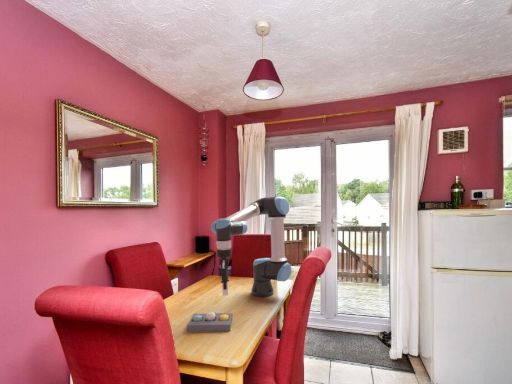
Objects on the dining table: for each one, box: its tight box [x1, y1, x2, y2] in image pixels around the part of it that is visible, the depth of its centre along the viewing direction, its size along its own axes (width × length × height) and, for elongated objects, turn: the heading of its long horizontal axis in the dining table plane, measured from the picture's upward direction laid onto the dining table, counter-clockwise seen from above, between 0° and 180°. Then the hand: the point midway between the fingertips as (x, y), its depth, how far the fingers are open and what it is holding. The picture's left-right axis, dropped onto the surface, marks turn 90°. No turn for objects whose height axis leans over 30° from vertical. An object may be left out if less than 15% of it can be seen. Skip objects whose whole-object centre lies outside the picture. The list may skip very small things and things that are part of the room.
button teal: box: [192, 315, 202, 321], centre depth 131 cm, size 4×4×3 cm
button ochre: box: [220, 314, 229, 321], centre depth 131 cm, size 4×4×3 cm
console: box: [186, 312, 233, 333], centre depth 131 cm, size 20×14×3 cm
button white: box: [205, 311, 216, 321], centre depth 131 cm, size 4×4×3 cm
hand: (225, 294), depth 137 cm, fingers closed
